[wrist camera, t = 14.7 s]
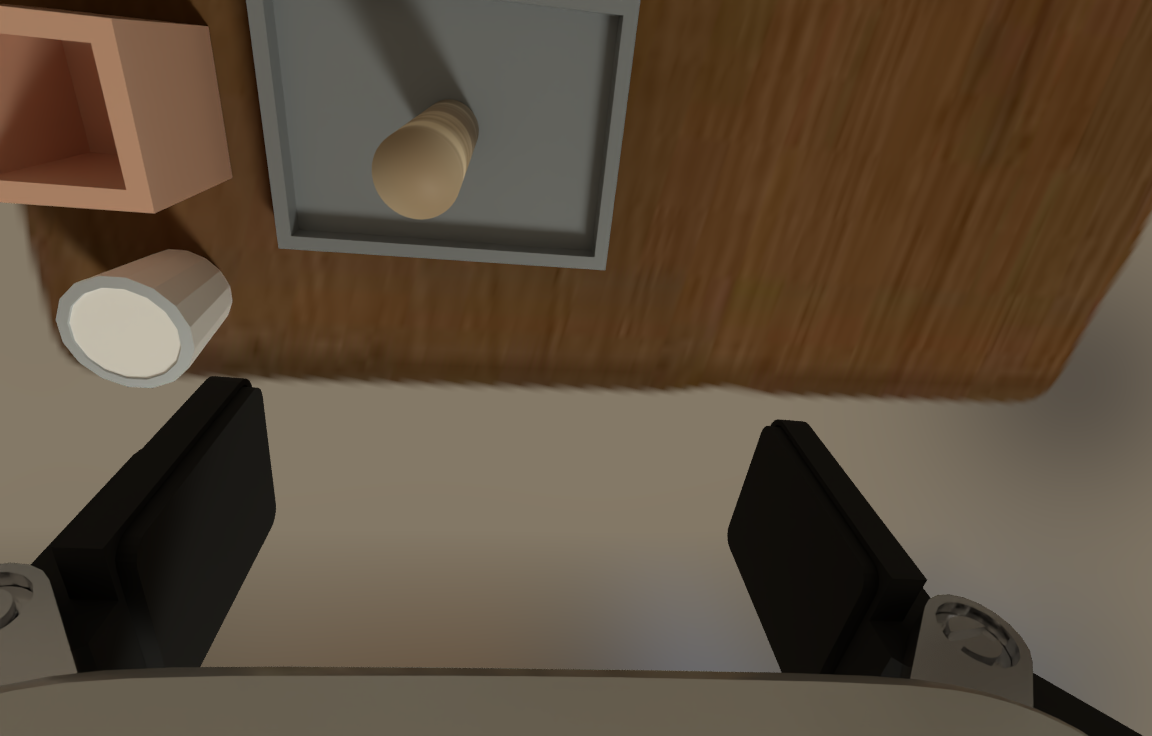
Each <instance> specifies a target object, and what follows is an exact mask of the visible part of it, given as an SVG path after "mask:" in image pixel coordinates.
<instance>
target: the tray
mask: <svg viewBox="0 0 1152 736" xmlns="http://www.w3.org/2000/svg"><path fill="white" fill-rule="evenodd" d="M246 4H247V12H248V19H249V27H250V35H251V42H252V50H253V57H254V65H255V72H256V80H257V88H258V95H259V103H260V110H261V118H262V126H263V133H264V141H265V148H266V156H267V164H268V171H269V179H270V186H271V194H272V202H273V209H274V217H275V224H276V232H277V240H278V247H279V248H282V249H297V250H312V251H327V252H342V253H356V254H371V255H386V256H401V257H416V258H431V259H446V260H461V261H476V262H491V263H506V264H521V265H535V266H550V267H565V268H580V269H595V270H605V269H606V261H607V253H608V246H609V238H610V230H611V222H612V215H613V207H614V199H615V192H616V184H617V176H618V168H619V161H620V153H621V145H622V138H623V130H624V122H625V115H626V107H627V99H628V91H629V84H630V76H631V68H632V61H633V53H634V45H635V37H636V30H637V22H638V14H639V7H640V0H246ZM445 99H452V100H457V101H460V102H462V103H463V104H465V105H466V106H467V107H469V108H470V109H471V111H472V112H473V113H474V115H475V117H476V119H477V122H478V127H479V135H478V140H477V143H476V145H475V148H474V151H473V154H472V157H471V160H470V162H469V165H468V168H467V171H466V174H465V177H464V180H463V182H462V185H461V188H460V191H459V194H458V196H457V198H456V200H455V202H454V203H453V204H452V206H451V207H450V208H449V209H448V210H447V211H445V212H444V213H442V214H441V215H439V216H436V217H434V218H430V219H412V218H408V217H405V216H403V215H400V214H398V213H397V212H395V211H394V210H392V209H391V208H390V207H389V206H388V205H387V204H385V202H384V201H383V200H382V199H381V197H380V196H379V194H378V192H377V190H376V188H375V185H374V183H373V178H372V161H373V157H374V154H375V152H376V150H377V148H378V147H379V145H380V144H381V143H382V142H383V140H384V139H386V138H387V137H388V136H390V135H391V134H392V133H394V132H395V131H397V130H398V129H399V128H401V127H402V126H404V125H405V124H407V123H408V122H409V121H411V120H412V119H414V118H415V117H416V116H418V115H419V114H421V113H422V112H423V111H425V110H426V109H428V108H429V107H431V106H432V105H433V104H435V103H437V102H438V101H441V100H445Z"/></svg>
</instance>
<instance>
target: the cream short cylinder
mask: <svg viewBox="0 0 1152 736" xmlns="http://www.w3.org/2000/svg"><path fill="white" fill-rule="evenodd" d="M231 304H232V296H231V290H230V285H229V284H228V282H227V280H226V279H225V277H224V275H223V274H222V272H221V271H220V270H219V269H218V268H217V267H216V266H214V265H213V264H212V263H211V262H210V261H208V260H207V259H206V258H204V257H202V256H199V255H197V254H194V253H192V252H190V251H187V250H174V249H167V250H164V251H161V252H158V253H155V254H152V255H149V256H146V257H144V258H141V259H138V260H136V261H133V262H130V263H128V264H125V265H122V266H120V267H117V268H114V269H112V270H109V271H106V272H104V273H101V274H98V275H96V276H93V277H90V278H88V279H85V280H82V281H79V282H77V283H74V284H73V285H72V287H71V288H70V289H69V290H68V291H67V292H66V293H65V294H64V295H63V296H62V297H61V298H60V300H59V306H58V311H57V316H56V322H57V325H58V328H59V331H60V334H61V338H62V341H63V343H64V344H65V345H66V347H67V348H68V349H69V350H70V352H71V353H72V354H73V355H74V356H75V358H76V359H77V360H78V361H79V363H81V364H82V365H84V366H85V367H87V368H88V369H90V370H91V371H93V372H94V373H95V374H97V375H98V376H100V377H101V378H104V379H107V380H109V381H112V382H115V383H118V384H121V385H124V386H127V387H144V388H154V387H157V386H160V385H164V384H167V383H170V382H173V381H175V380H176V379H177V378H178V377H180V376H181V375H182V374H183V373H184V372H185V371H186V370H187V369H188V368H189V367H190V366H191V364H192V363H193V362H194V360H195V359H196V358H197V356H198V355H199V354H200V352H201V351H202V349H203V348H204V347H205V345H206V344H207V343H208V341H209V340H210V339H211V337H212V336H213V335H214V333H215V332H216V331H217V329H218V328H219V327H220V325H221V324H222V323H223V321H224V320H225V319H226V317H227V316H228V314H229V311H230V308H231Z"/></svg>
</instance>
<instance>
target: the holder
mask: <svg viewBox="0 0 1152 736" xmlns="http://www.w3.org/2000/svg"><path fill="white" fill-rule="evenodd" d="M231 178H232V172H231V165H230V159H229V153H228V146H227V140H226V134H225V128H224V121H223V115H222V109H221V103H220V96H219V90H218V84H217V77H216V71H215V65H214V59H213V52H212V46H211V40H210V34H209V27H208V26H201V25H193V24H184V23H175V22H166V21H157V20H148V19H140V18H131V17H122V16H113V15H104V14H95V13H86V12H78V11H69V10H60V9H51V8H42V7H31V6H20V5H9V4H0V202H4V203H18V204H31V205H45V206H59V207H73V208H86V209H100V210H114V211H128V212H142V213H157V212H159V211H161V210H163V209H166V208H168V207H170V206H172V205H174V204H176V203H179V202H181V201H183V200H185V199H187V198H189V197H192V196H194V195H196V194H198V193H200V192H203V191H205V190H207V189H209V188H211V187H213V186H216V185H218V184H220V183H222V182H224V181H226V180H229V179H231Z"/></svg>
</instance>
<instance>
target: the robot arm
mask: <svg viewBox="0 0 1152 736" xmlns="http://www.w3.org/2000/svg"><path fill="white" fill-rule="evenodd" d="M275 513H276V503H275V494H274V487H273V478H272V470H271V462H270V454H269V446H268V438H267V429H266V420H265V412H264V404H263V396H262V392H261V390H260V389H259V388H253V387H252V385H251V383H250V381H249V380H248V379H243V378H230V377H217V376H211V377H209V378H208V379H206V381H205V382H204V383H203V384H202V385H201V386H200V387H199V388H198V389H197V390H196V391H195V393H194V394H193V395H192V396H191V397H190V398H189V399H188V400H187V401H186V402H185V403H184V404H183V405H182V406H181V407H180V409H179V410H178V411H177V412H176V413H175V414H174V415H173V416H172V417H171V418H170V419H169V420H168V421H167V423H166V424H165V425H164V426H163V427H162V428H161V429H160V430H159V431H158V432H157V433H156V434H155V435H154V437H153V438H152V439H151V440H150V441H149V442H148V443H147V444H146V445H145V446H144V448H142V449H141V450H139V451H138V452H137V453H135V454H134V455H133V456H132V457H131V458H130V459H129V460H128V461H127V462H126V463H125V465H124V466H123V467H122V468H121V469H120V470H119V471H118V472H117V473H116V474H115V475H114V476H113V477H112V478H111V479H110V481H109V482H108V483H107V484H106V485H105V486H104V487H103V488H102V489H101V490H100V491H99V492H98V493H97V494H96V495H95V497H94V498H93V499H92V500H91V501H90V502H89V503H88V504H87V505H86V506H85V507H84V508H83V509H82V511H80V513H79V514H78V515H77V516H76V517H75V518H74V519H73V520H72V521H71V522H70V523H69V524H68V525H67V527H66V528H65V529H64V530H63V531H62V532H61V533H60V534H59V535H58V536H57V537H56V538H55V539H54V540H53V541H52V542H51V544H50V545H49V546H48V547H47V548H46V549H45V550H44V551H43V552H42V553H41V554H40V555H39V556H38V557H37V558H36V560H35V561H34V562H33V563H32V564H31V565H29V564H19V563H4V564H0V736H1142V735H1141V734H1139V733H1137V732H1135V731H1134V730H1132V729H1130V728H1128V727H1126V726H1125V725H1123V724H1121V723H1120V722H1118V721H1116V720H1114V719H1113V718H1111V717H1109V716H1107V715H1106V714H1104V713H1102V712H1100V711H1099V710H1097V709H1095V708H1093V707H1092V706H1090V705H1088V704H1086V703H1084V702H1083V701H1081V700H1079V699H1077V698H1076V697H1074V696H1073V695H1071V694H1069V693H1067V692H1065V691H1064V690H1062V689H1060V688H1059V687H1057V686H1055V685H1053V684H1052V683H1050V682H1048V681H1046V680H1045V679H1043V678H1041V677H1039V676H1038V675H1036V674H1034V673H1033V662H1032V658H1031V654H1030V650H1029V649H1028V647H1027V645H1026V644H1025V642H1024V640H1023V639H1022V637H1021V636H1020V635H1019V634H1018V633H1017V632H1016V631H1015V630H1014V629H1013V628H1012V626H1011V625H1010V624H1008V623H1007V622H1006V621H1004V620H1003V619H1002V618H1001V617H1000V616H998V615H997V614H996V613H994V612H992V611H991V610H989V609H987V608H985V607H984V606H982V605H981V604H979V603H976V602H974V601H971V600H969V599H966V598H964V597H959V596H954V595H937V596H934V597H932V598H930V597H929V595H928V594H927V593H926V591H925V590H924V589H923V586H924V584H925V582H926V581H927V579H926V578H925V577H924V575H923V574H922V573H921V571H920V570H919V569H918V568H917V566H916V565H915V563H914V562H913V561H912V560H911V558H910V557H909V556H908V554H907V553H906V552H905V550H904V549H903V548H902V546H901V545H900V544H899V542H898V541H897V540H896V539H895V537H894V536H893V535H892V533H891V532H890V531H889V529H888V528H887V527H886V525H885V524H884V523H883V521H882V520H881V519H880V517H879V516H878V515H877V514H876V512H875V511H874V510H873V508H872V507H871V506H870V504H869V503H868V502H867V501H866V499H865V498H864V496H863V495H862V494H861V493H860V491H859V490H858V489H857V487H856V486H855V485H854V483H853V482H852V481H851V479H850V478H849V477H848V475H847V474H846V473H845V472H844V470H843V469H842V468H841V466H840V465H839V464H838V462H837V461H836V460H835V458H834V457H833V456H832V455H831V453H830V452H829V451H828V449H827V448H826V447H825V445H824V444H823V443H822V441H821V440H820V439H819V437H818V436H817V435H816V433H815V432H814V431H813V429H812V428H811V427H810V426H809V424H807V423H806V422H803V421H790V420H775V421H774V422H773V423H772V424H771V426H766V427H765V428H764V429H763V430H762V432H761V435H760V438H759V441H758V444H757V447H756V450H755V452H754V455H753V459H752V461H751V464H750V467H749V470H748V473H747V475H746V479H745V481H744V484H743V487H742V490H741V493H740V496H739V498H738V501H737V504H736V507H735V510H734V513H733V516H732V519H731V522H730V525H729V528H728V544H729V547H730V550H731V552H732V554H733V557H734V559H735V562H736V564H737V566H738V569H739V571H740V574H741V576H742V578H743V580H744V583H745V586H746V588H747V590H748V593H749V595H750V597H751V600H752V602H753V605H754V607H755V609H756V612H757V614H758V616H759V619H760V621H761V624H762V626H763V629H764V631H765V633H766V636H767V638H768V641H769V643H770V645H771V648H772V650H773V652H774V655H775V657H776V660H777V662H778V664H779V667H780V669H781V672H782V673H767V672H766V673H765V672H712V671H661V670H594V669H518V668H517V669H516V668H515V669H514V668H422V667H416V668H415V667H414V668H413V667H200V666H201V664H202V662H203V660H204V658H205V656H206V654H207V652H208V651H209V649H210V647H211V644H212V643H213V641H214V638H215V637H216V635H217V633H218V631H219V629H220V627H221V625H222V623H223V621H224V619H225V617H226V615H227V613H228V611H229V609H230V607H231V606H232V604H233V602H234V600H235V598H236V596H237V594H238V591H239V590H240V588H241V586H242V584H243V582H244V580H245V578H246V576H247V574H248V572H249V570H250V568H251V566H252V564H253V562H254V560H255V559H256V557H257V555H258V553H259V551H260V549H261V547H262V545H263V543H264V541H265V539H266V537H267V535H268V533H269V531H270V529H271V527H272V525H273V522H274V519H275Z"/></svg>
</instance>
